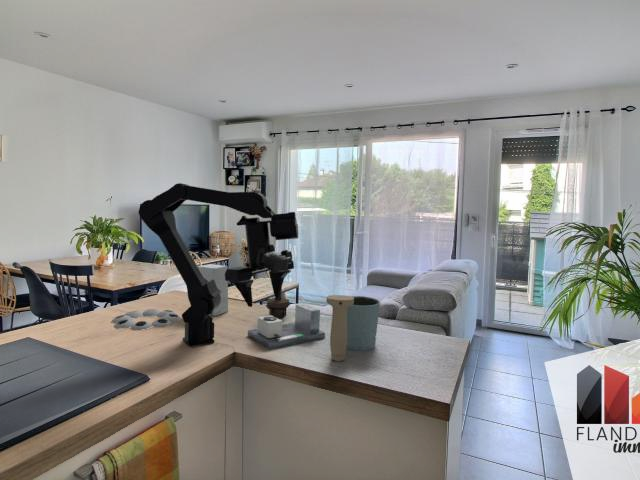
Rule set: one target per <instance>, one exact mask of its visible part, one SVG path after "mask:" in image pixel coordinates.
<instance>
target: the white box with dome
mask: <svg viewBox="0 0 640 480" xmlns="http://www.w3.org/2000/svg"><path fill="white" fill-rule="evenodd" d="M283 324H284V323H283V321H282V319H279V318H276V317H273V316H271V315H270V316H269V315H265V316H258V317H257V329H258V332H259V333H261V334H262V335H264V336H266V337H267V338H272V337H278V338H281V336H282V327H283Z"/></svg>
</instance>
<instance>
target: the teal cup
mask: <svg viewBox="0 0 640 480" xmlns="http://www.w3.org/2000/svg"><path fill="white" fill-rule="evenodd" d="M352 297H354V304H353V305H351V306H349V307H348V308H347V345H346V349H350V350H353V351H370V350H373V349H375V346H376V343H377V341H376V340H377V337H376V336H377V332H378V323H379V322H378V321H379V313H380V309H381V307H380V306H381V301H380V300H379V299H377V298H374V297H370V296H362V295H354V296H352Z"/></svg>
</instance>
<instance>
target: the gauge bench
mask: <svg viewBox="0 0 640 480" xmlns="http://www.w3.org/2000/svg"><path fill="white" fill-rule="evenodd" d="M294 312H295V314H294V322H288V323H283V327H282V336H281V338H278V337H272V338H267V337H266V336H264V335H262V334H261V333H259V332H258V328H254V329H249V330H247V336H248V337H249V338H250V339H252V340H254V341H255V342H257V343H258V344H260V345H261V346H263V347H265V348H266V349H267V350H272V349H273V350H274V349H277V348H282V347H287V346H292V345H297V344H302V343H305V342H310V341H315V340H320V339H325V338H326V332H325V331H322V330H321V329H320V325H321V324H320V323H321V321H320V320H321V319H320V318H321V309H319V308H316V307H315V306H312V305H309V304H306V303H299V304H295V310H294Z"/></svg>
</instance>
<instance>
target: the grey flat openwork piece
mask: <svg viewBox="0 0 640 480" xmlns="http://www.w3.org/2000/svg"><path fill="white" fill-rule="evenodd" d="M142 316H143V317H156V318H158V319H155V320H154V321H152V322H151V323H150V322H149V321H146V320H140V321H137V322H135V321H134V319H139V318H138V317H140V318H143V317H142ZM132 318H134V319H132ZM181 319H182V318H181V317H180V316H179V315H178V314H177V313H176V312H175V311H174V310H170V309H169V310H167V309H165V310H161V311H160V310H159V309H156V308H155V309H151V308H149V309H145V310H144V311H142V312H141V311H138V310H134V311H128V312H126V313H125V314H122V315H119V316H115V317H114V318H112V320H111V323H112V322H113V323H112V324H114V325H113V328H114V327H115V329H119V328H124V329H130V330H132V329H134V330H133V331H143V330H142V329H146V330H148V329H147V328H150V327H152V326H154V327H152V328H166V326H167V327H169V326H172V324H173V323H175V322H179V321H181ZM132 320H133V321H132ZM115 323H116V324H115ZM119 323H121V324H119ZM138 324H141V325H138ZM129 327H131V328H129ZM150 329H151V328H150Z"/></svg>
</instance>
